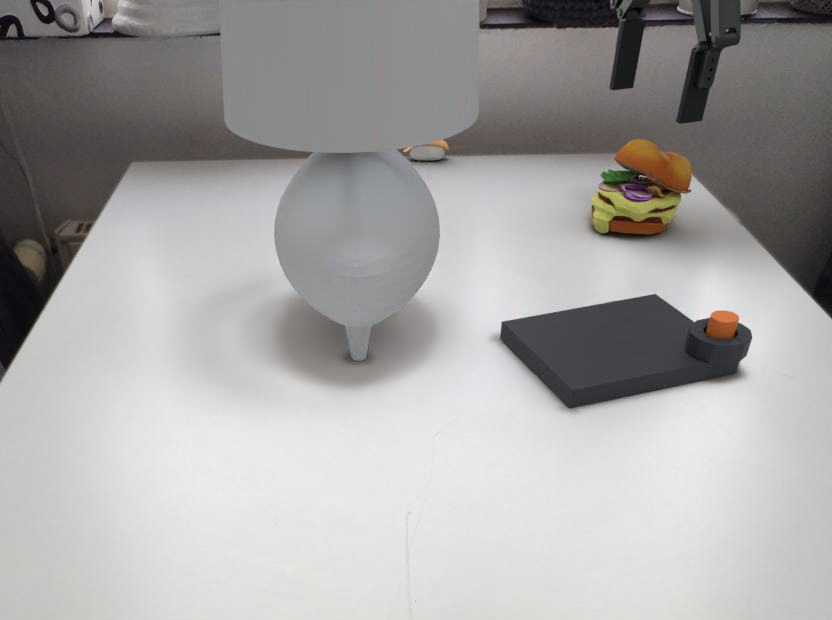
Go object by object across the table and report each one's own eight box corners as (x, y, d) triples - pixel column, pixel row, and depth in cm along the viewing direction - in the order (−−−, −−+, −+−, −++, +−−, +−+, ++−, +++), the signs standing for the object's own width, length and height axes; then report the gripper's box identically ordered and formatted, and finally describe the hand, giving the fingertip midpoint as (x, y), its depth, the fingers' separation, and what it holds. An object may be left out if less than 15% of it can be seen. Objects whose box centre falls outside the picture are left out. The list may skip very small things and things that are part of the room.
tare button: (723, 326, 81) (728, 308, 80) (739, 338, 79) (745, 319, 78) (700, 331, 80) (705, 312, 79) (716, 342, 79) (721, 324, 77)
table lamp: (475, 383, 81) (527, -234, 52) (238, 389, 81) (161, -223, 53) (453, 278, 97) (484, -237, 69) (255, 283, 97) (204, -229, 69)
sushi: (448, 162, 124) (449, 138, 122) (402, 162, 125) (403, 138, 123) (448, 156, 126) (449, 132, 124) (402, 156, 127) (403, 133, 124)
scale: (661, 308, 91) (669, 274, 88) (752, 375, 81) (764, 338, 78) (499, 338, 87) (503, 303, 84) (574, 412, 77) (581, 375, 74)
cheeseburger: (565, 218, 108) (594, 126, 102) (628, 224, 113) (659, 137, 107) (620, 245, 102) (654, 148, 96) (684, 250, 107) (720, 158, 101)
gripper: (601, -161, 91) (568, 79, 106) (754, -140, 74) (689, 141, 89) (665, -164, 92) (623, 73, 107) (829, -144, 76) (752, 132, 91)
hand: (653, 104), depth 98 cm, fingers open, 13 cm apart
